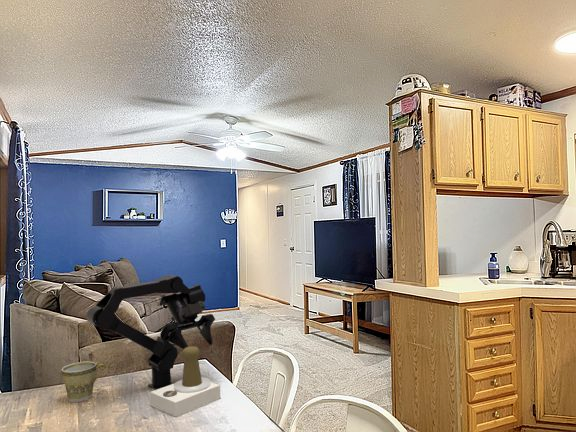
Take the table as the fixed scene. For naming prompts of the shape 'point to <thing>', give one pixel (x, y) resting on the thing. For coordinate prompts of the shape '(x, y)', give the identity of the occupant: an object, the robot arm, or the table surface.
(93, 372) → the ceramic cup
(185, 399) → the kitchen scale
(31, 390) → the table surface
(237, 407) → the table surface
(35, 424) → the table surface
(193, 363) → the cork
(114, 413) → the table surface
